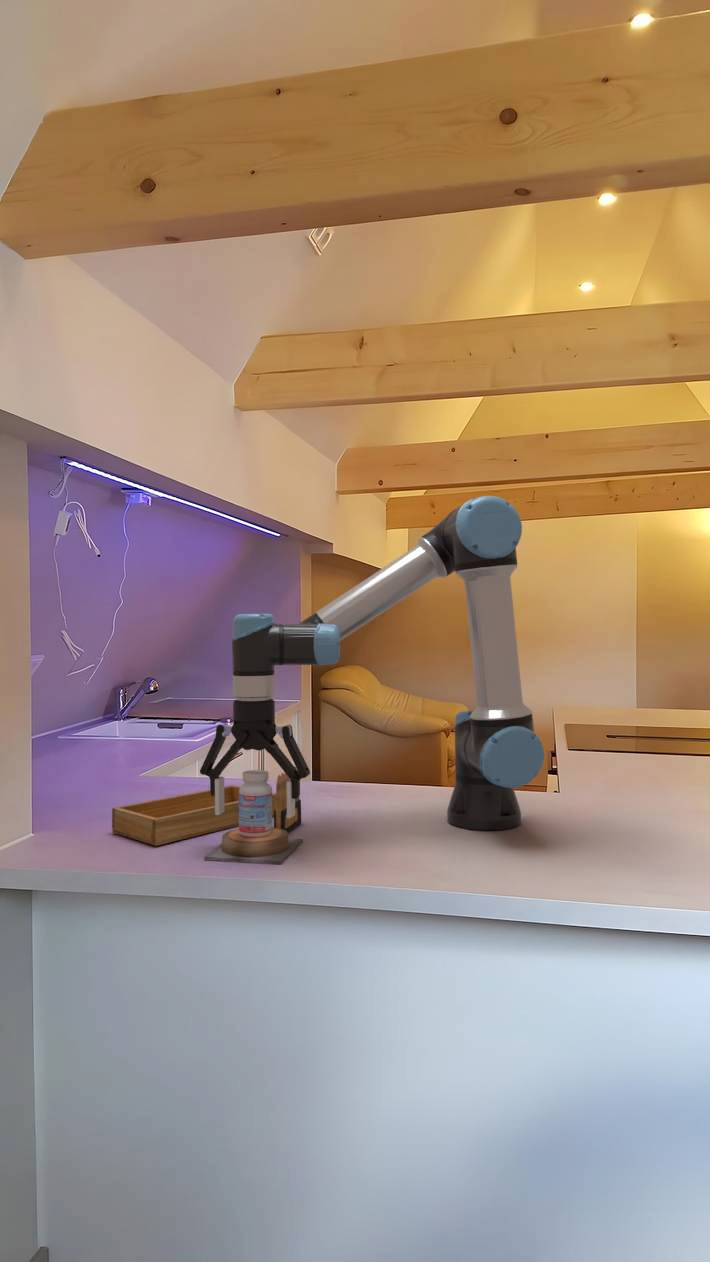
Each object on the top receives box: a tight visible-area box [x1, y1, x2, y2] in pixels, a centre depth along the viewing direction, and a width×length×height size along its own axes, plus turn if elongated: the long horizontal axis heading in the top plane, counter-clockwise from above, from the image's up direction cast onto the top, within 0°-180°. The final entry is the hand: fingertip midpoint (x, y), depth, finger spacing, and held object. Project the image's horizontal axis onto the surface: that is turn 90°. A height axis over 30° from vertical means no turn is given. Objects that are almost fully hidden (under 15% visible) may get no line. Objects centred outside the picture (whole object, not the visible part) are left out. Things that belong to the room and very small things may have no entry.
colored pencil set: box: [273, 766, 302, 834], centre depth 156 cm, size 11×2×12 cm, turn 164°
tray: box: [111, 784, 276, 847], centre depth 160 cm, size 31×15×6 cm, turn 138°
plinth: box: [203, 826, 304, 865], centre depth 142 cm, size 14×14×3 cm
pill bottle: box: [238, 769, 273, 837], centre depth 141 cm, size 6×6×11 cm
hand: (255, 815), depth 141 cm, fingers open, 13 cm apart
